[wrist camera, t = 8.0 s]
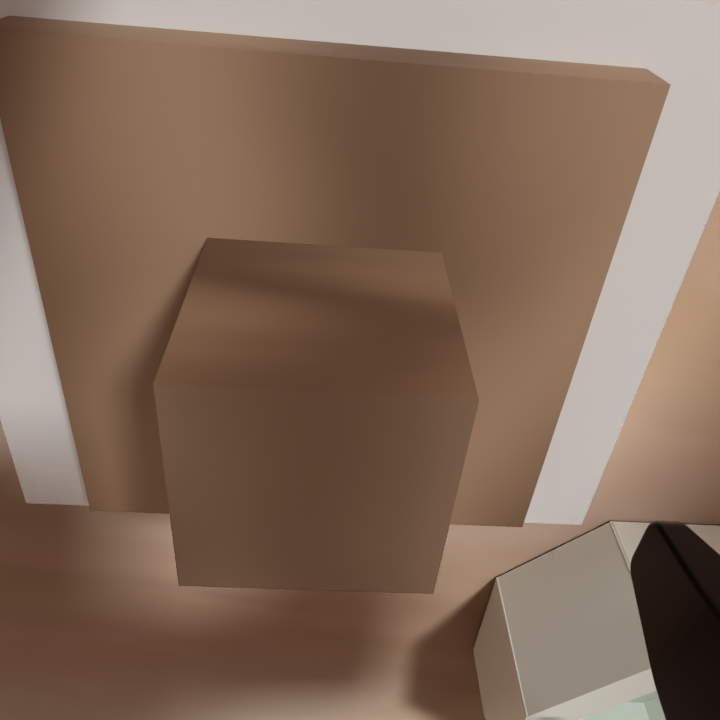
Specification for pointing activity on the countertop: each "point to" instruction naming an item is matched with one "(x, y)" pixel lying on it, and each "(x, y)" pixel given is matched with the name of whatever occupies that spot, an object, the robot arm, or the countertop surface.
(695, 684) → the robot arm
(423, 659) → the countertop surface
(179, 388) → the lid
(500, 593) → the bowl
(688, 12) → the mat
